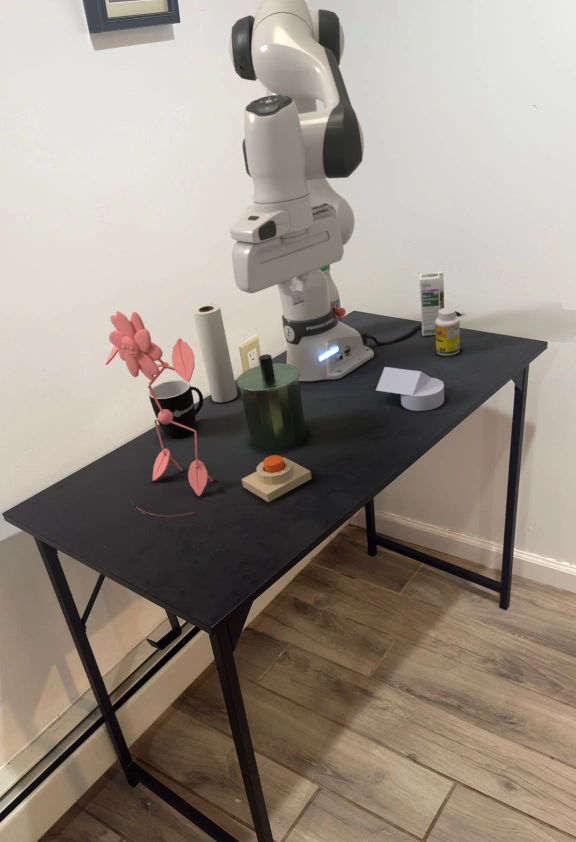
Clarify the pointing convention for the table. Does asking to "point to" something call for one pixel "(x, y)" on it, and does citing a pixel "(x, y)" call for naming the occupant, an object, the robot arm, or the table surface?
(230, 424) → the table surface
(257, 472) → the switch base
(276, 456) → the power button
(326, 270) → the milk bottle
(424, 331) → the syrup box
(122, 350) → the figurine
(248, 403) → the dark green cylinder
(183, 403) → the mug
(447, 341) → the supplement bottle
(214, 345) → the paper towel roll
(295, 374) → the kettle lid
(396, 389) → the wedge on round base
